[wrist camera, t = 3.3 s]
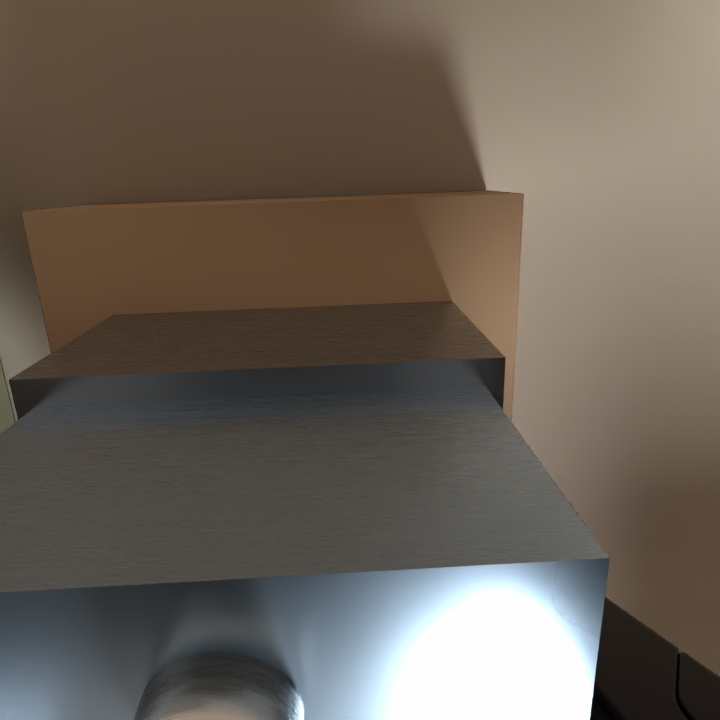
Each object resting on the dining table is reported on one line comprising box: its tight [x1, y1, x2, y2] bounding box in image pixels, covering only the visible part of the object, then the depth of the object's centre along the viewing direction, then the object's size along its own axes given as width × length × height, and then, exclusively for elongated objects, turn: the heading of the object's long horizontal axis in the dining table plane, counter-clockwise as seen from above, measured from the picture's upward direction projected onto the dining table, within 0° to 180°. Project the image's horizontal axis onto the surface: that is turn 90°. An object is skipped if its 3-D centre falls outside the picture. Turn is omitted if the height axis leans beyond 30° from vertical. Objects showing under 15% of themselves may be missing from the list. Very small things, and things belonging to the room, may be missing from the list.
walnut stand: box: [22, 190, 524, 421], centre depth 10 cm, size 10×7×2 cm
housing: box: [0, 301, 609, 720], centre depth 7 cm, size 7×5×6 cm
